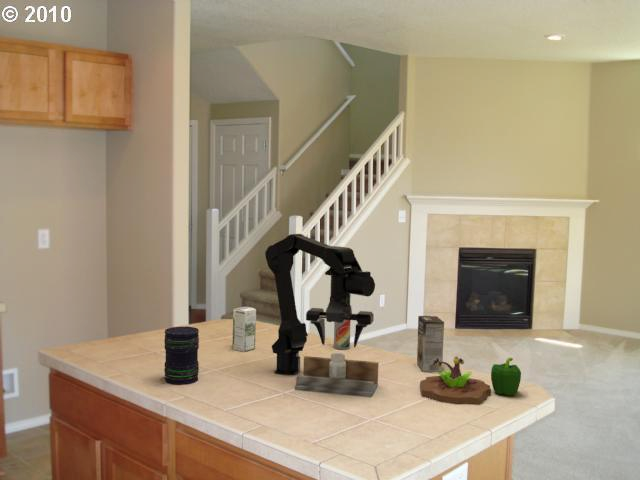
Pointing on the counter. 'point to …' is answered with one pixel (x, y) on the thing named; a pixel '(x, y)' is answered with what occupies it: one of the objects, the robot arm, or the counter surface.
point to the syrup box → (244, 329)
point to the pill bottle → (337, 366)
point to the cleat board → (356, 383)
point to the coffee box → (430, 343)
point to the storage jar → (181, 355)
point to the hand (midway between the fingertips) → (339, 345)
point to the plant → (454, 386)
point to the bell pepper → (505, 378)
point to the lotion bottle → (342, 335)
